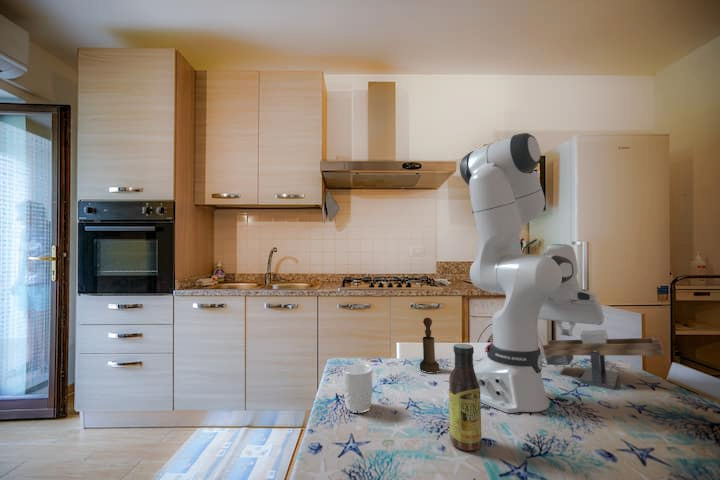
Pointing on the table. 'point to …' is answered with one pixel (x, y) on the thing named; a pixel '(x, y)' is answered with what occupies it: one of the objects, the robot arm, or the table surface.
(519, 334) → the robot arm
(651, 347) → the balance beam
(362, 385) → the white cup
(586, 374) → the beam stand
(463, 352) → the sauce bottle
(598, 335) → the steel rider
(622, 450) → the table surface
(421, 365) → the mortar and pestle
